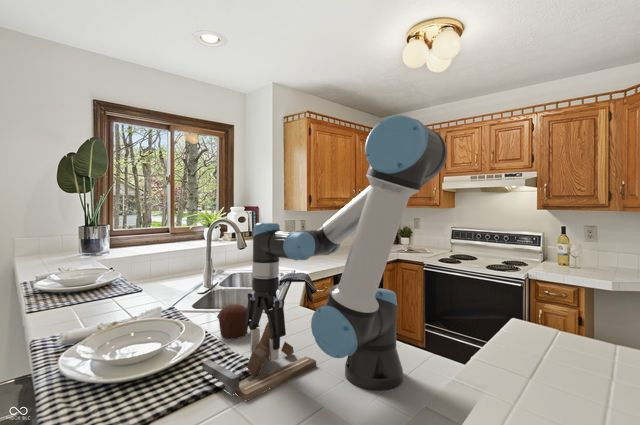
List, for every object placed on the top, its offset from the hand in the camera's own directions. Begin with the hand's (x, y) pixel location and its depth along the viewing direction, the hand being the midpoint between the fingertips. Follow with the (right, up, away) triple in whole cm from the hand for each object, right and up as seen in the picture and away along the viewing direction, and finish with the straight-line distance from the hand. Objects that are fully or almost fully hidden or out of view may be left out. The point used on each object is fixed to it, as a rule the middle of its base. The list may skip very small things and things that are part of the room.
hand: (264, 355), depth 94 cm
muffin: (-15, -2, +22) cm, 27 cm away
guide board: (0, -2, -6) cm, 6 cm away
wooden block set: (+1, -2, -1) cm, 2 cm away
